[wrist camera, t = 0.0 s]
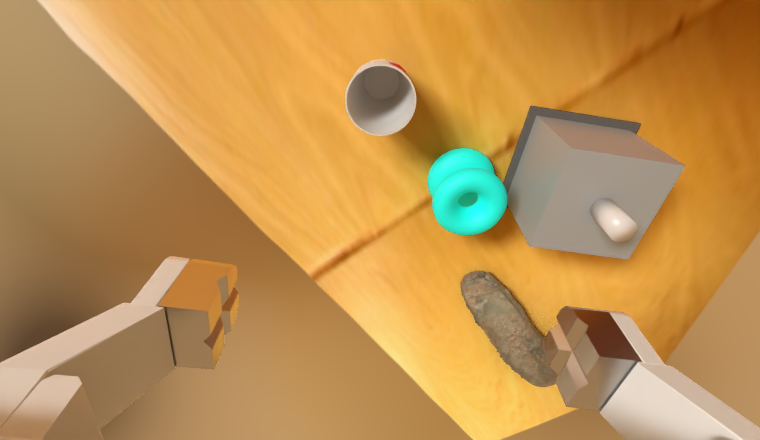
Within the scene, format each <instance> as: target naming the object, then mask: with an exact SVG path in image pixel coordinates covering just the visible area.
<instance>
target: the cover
mask: <svg viewBox="0 0 760 440" xmlns="http://www.w3.org/2000/svg"><path fill="white" fill-rule="evenodd" d="M684 168H685V165H683V164H682V163H680V162H679V161H677V160H676V159H674V158H672V157H671V156H669V155H668V154H666V153H665V152H663V151H661V150H660V149H658V148H657V147H655V146H654V145H652V144H650V143H649V142H647V141H646V140H644V139H643V138H641V137H639V136H638V135H636V134H635V133H633V132H632V131H630V130H624V129H618V128H612V127H606V126H599V125H593V124H587V123H581V122H574V121H568V120H562V119H556V118H549V117H543V116H537V115H536V118H535V121H534V124H533V126H532V129H531V132H530V134H529V137H528V140H527V143H526V145H525V148H524V151H523V154H522V156H521V159H520V162H519V165H518V167H517V170H516V173H515V175H514V178H513V181H512V184H511V186H510V189H509V192H508V195H507V205H508V207H509V209H510V211H511V213H512V215H513V217H514V218H515V220H516V222H517V224H518V226H519V228H520V230H521V232H522V233H523V235H524V237H525V239H526V241H527V243H528V245H529V246H530V247H538V248H545V249H552V250H560V251H567V252H575V253H582V254H590V255H597V256H604V257H612V258H619V259H627V260H629V258H630V256H631V255H632V253H633V251H634V250H635V248H636V247H637V245H638V243H639V242H640V240H641V238H642V237H643V235H644V233H645V232H646V230H647V228H648V227H649V225H650V224H651V222H652V220H653V219H654V217H655V215H656V214H657V212H658V210H659V209H660V207H661V205H662V204H663V202H664V201H665V199H666V197H667V196H668V194H669V192H670V191H671V189H672V187H673V186H674V184H675V182H676V181H677V179H678V178H679V176H680V174H681V173H682V171H683V169H684Z"/></svg>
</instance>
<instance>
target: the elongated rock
mask: <svg viewBox="0 0 760 440" xmlns="http://www.w3.org/2000/svg"><path fill="white" fill-rule="evenodd" d="M461 292H462V295H463V297H464V300H465V302H466V306H467V307H468V308H469V310H470V311H471V313H472V314H473V315H474V319H475V322H476V323H477V324H478V325H479V326H480V327H481V328H482V329H483V330H484V331H485V333H486V335H487V336H488V338H489V339H490V342H491V343H492V344H493V345H494V346H495V348H496V349H497V352H499V353H500V357H501V358H502V359H503V360H504V362H505V363H506V364H508V365H510V367H511V368H512V370H514V371H515V372H517V373H518V374H519V375H520V376H521V378H524V379H525V380H527V381H528V382H529V383H531V384H533V385H535V386H538V387H548V386H551V385H554V384H555V383H556V380H557V377H558V374H557V373H556V372H555V371H554V370H552V369H551V368H550V367H549V365H548V362H547V360H546V356H545V351H544V347H545V338H544V337H543V336H542V335H541V334H540V332H539V331H538V330H537V329H536V327H535V326H534V325H533V324H532V323H531V321H530V319H529V318H528V315H527V314H526V313H525V312H524V309H523V307H522V306H521V305H520V304H519V303H518V302H517V300H516V299H515V298H514V297H513V296H512V295H511V293H510V291H509V290H508V289H507V288H506V287H505V286H503V285H502V284H501V283H500V282H499V281H498V280H497V279H496V277H493V275H492V274H491V273H490V272H488V273H485V272H483V271H475V272H471V273H469V274H467V275H466V276H464V277H463V279H462V281H461Z"/></svg>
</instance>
